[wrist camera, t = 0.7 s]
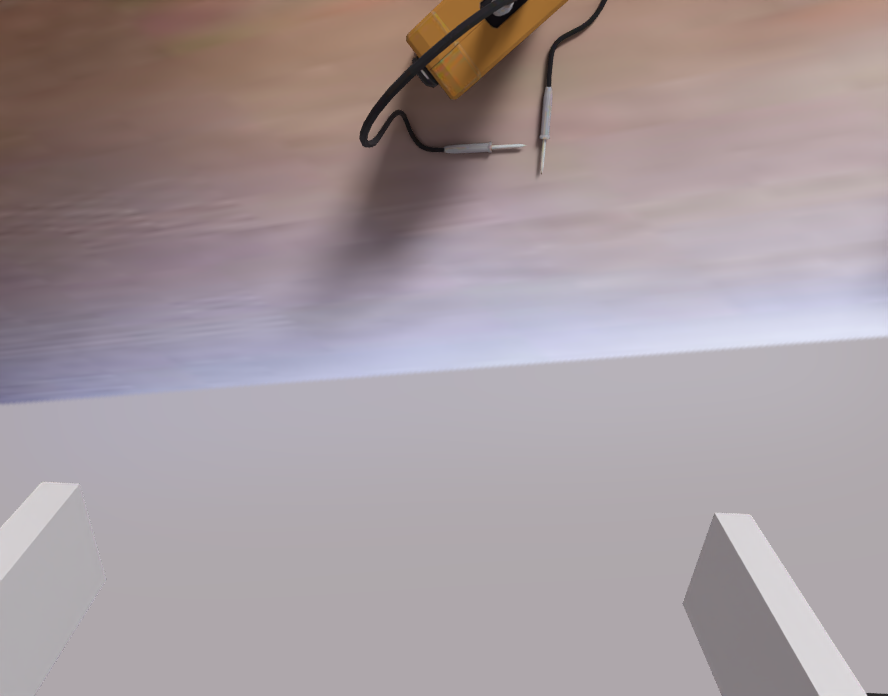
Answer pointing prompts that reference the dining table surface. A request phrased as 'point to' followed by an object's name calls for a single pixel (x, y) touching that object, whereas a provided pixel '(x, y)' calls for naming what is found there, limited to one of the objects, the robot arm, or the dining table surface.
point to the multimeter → (470, 56)
